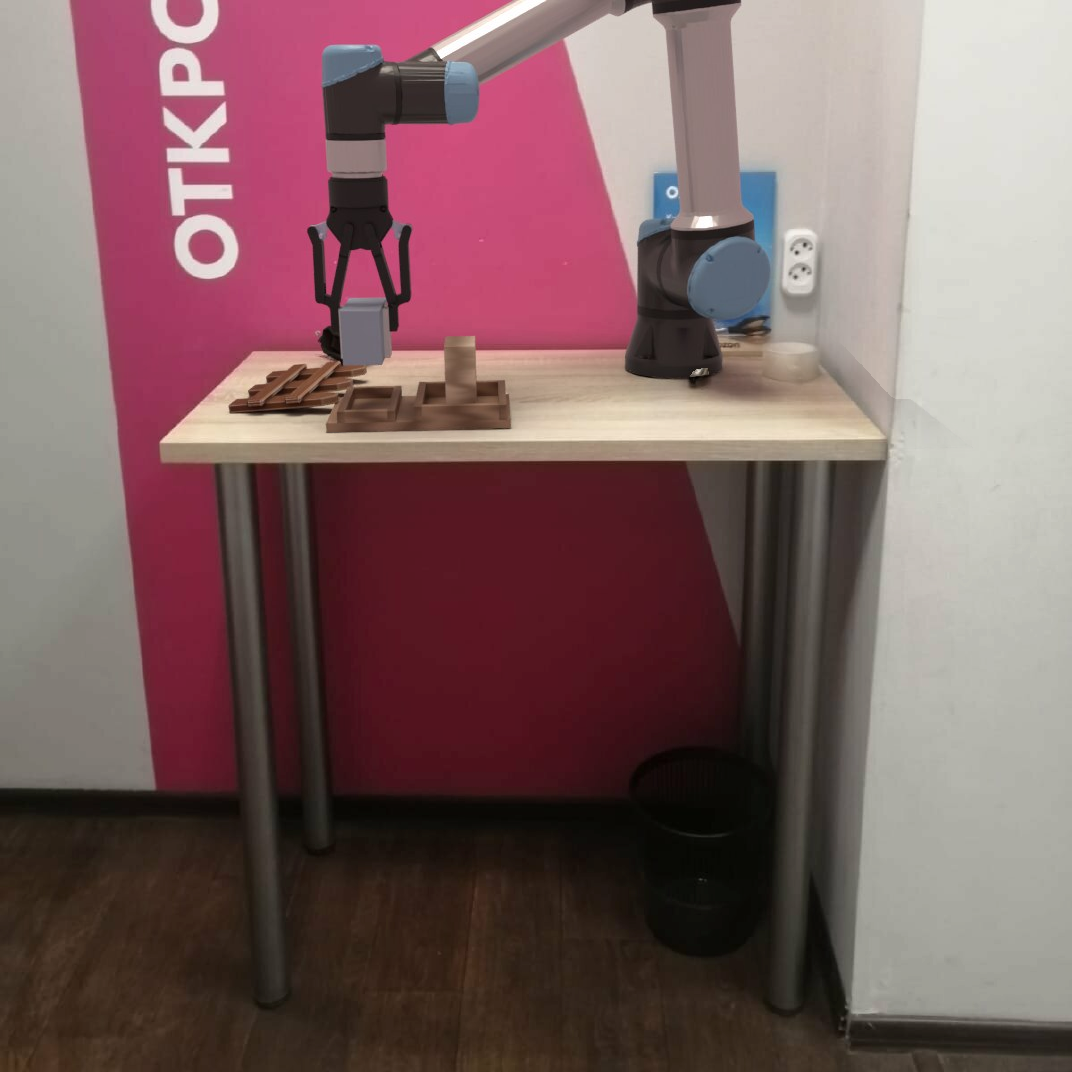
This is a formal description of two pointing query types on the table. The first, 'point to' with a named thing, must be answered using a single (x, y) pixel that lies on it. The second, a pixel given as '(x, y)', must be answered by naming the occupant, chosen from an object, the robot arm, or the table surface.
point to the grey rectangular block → (363, 331)
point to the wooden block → (460, 370)
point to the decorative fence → (299, 388)
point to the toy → (330, 343)
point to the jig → (419, 409)
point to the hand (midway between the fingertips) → (366, 355)
